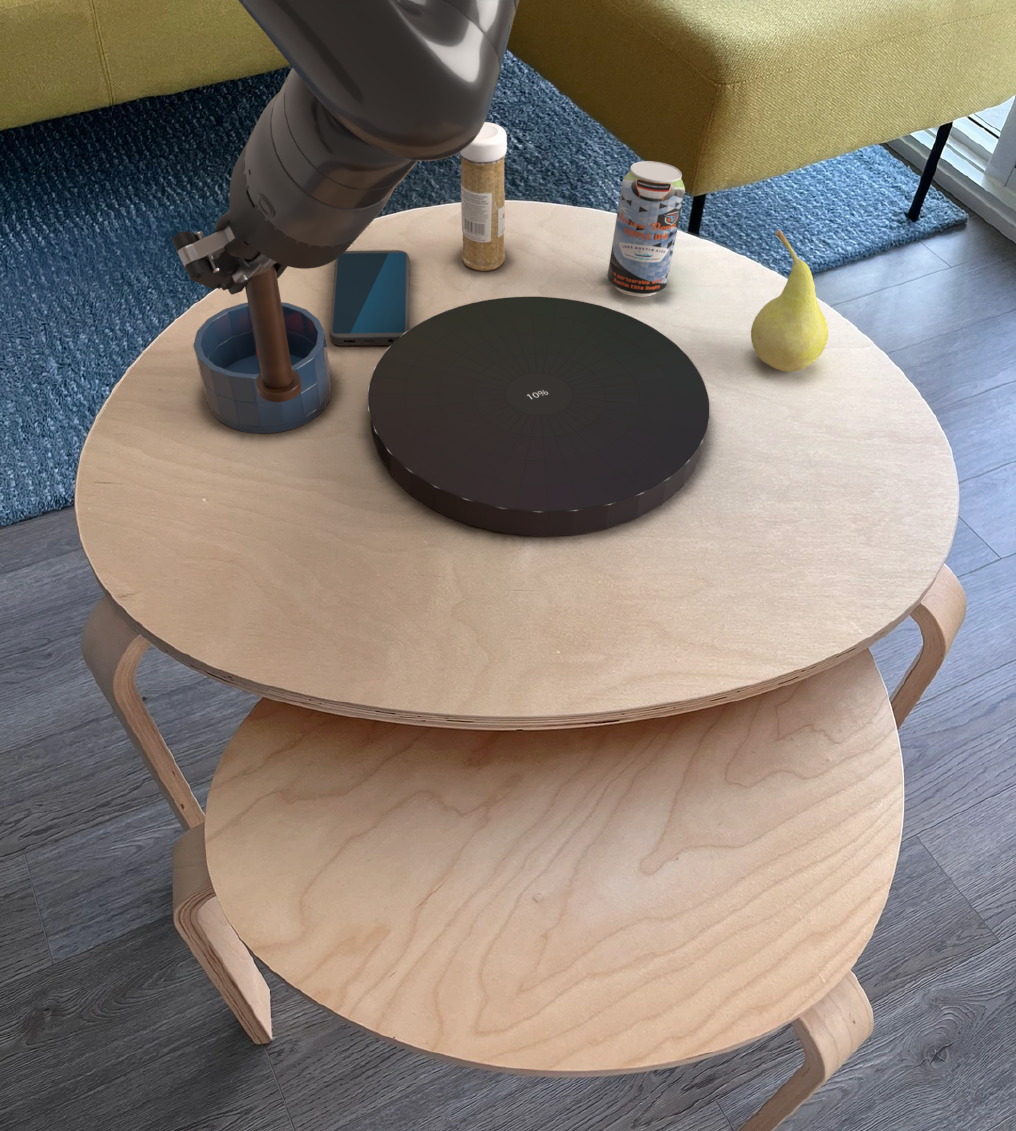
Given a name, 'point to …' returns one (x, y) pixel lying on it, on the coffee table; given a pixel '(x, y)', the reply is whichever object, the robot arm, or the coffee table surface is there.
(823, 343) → the fruit
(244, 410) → the bowl
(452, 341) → the disc
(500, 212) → the spice jar
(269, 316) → the stick
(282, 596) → the coffee table surface
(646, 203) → the beverage can
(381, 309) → the smartphone
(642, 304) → the coffee table surface
